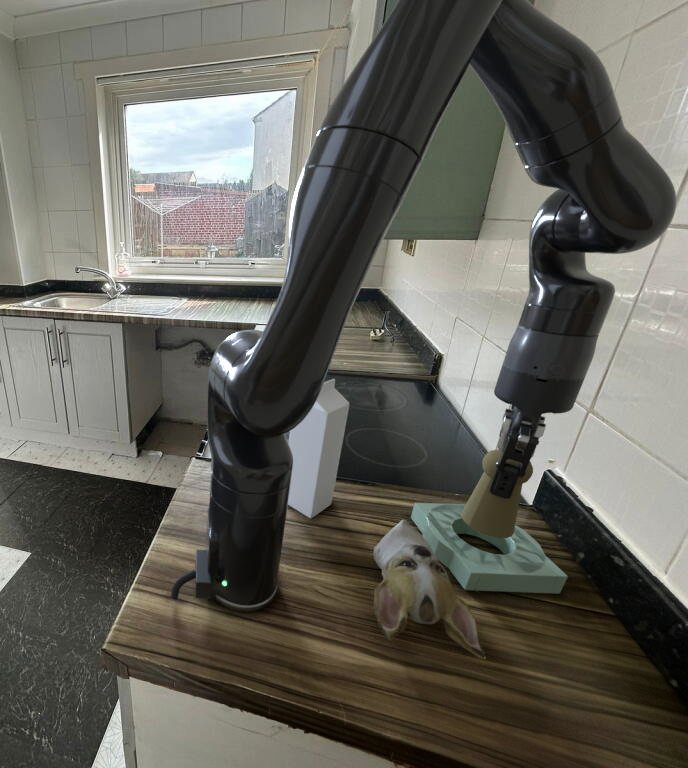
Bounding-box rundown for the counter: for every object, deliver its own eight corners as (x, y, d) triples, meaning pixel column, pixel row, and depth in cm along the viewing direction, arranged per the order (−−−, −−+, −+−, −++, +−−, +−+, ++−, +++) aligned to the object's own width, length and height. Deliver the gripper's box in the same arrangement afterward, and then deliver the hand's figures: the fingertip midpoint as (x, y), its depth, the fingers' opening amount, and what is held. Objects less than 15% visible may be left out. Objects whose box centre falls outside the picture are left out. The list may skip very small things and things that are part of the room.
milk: (331, 504, 68) (354, 384, 60) (310, 519, 65) (332, 393, 56) (301, 487, 72) (319, 372, 64) (279, 500, 69) (296, 380, 61)
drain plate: (458, 590, 52) (464, 572, 51) (405, 517, 65) (409, 502, 64) (566, 594, 52) (575, 576, 51) (491, 520, 65) (497, 505, 64)
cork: (495, 510, 59) (519, 444, 55) (524, 539, 53) (553, 469, 49) (452, 507, 60) (473, 442, 56) (476, 536, 54) (501, 466, 50)
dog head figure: (451, 515, 52) (511, 623, 39) (434, 563, 56) (484, 677, 43) (363, 504, 54) (392, 602, 41) (352, 551, 58) (376, 655, 45)
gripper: (506, 347, 55) (471, 454, 62) (501, 374, 45) (460, 499, 51) (580, 358, 51) (535, 472, 57) (594, 391, 41) (537, 525, 47)
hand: (500, 484), depth 54 cm, fingers closed on cork, 5 cm apart
